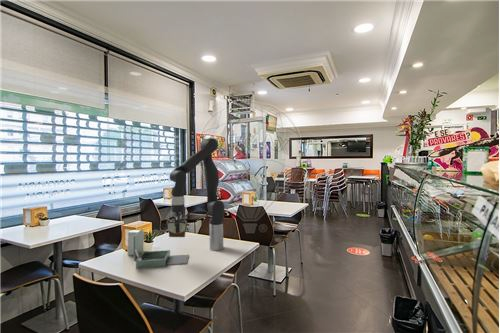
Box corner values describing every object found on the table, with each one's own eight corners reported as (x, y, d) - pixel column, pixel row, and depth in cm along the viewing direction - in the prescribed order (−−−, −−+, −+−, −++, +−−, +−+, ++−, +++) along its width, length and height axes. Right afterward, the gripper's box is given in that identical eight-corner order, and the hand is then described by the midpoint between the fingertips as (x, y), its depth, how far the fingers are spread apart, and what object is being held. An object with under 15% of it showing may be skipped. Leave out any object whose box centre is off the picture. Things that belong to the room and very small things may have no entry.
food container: (190, 233, 162) (189, 217, 161) (187, 237, 155) (186, 220, 155) (170, 233, 162) (170, 217, 162) (166, 237, 156) (166, 220, 156)
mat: (188, 255, 166) (188, 254, 166) (186, 264, 152) (186, 263, 152) (170, 256, 164) (170, 255, 164) (167, 265, 150) (167, 264, 150)
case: (170, 256, 164) (169, 228, 164) (165, 266, 148) (165, 235, 148) (141, 258, 162) (141, 229, 162) (133, 268, 146) (133, 236, 146)
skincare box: (127, 255, 167) (127, 232, 167) (131, 252, 173) (131, 229, 173) (140, 255, 167) (140, 232, 167) (144, 252, 173) (143, 229, 173)
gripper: (183, 205, 151) (183, 234, 151) (185, 201, 165) (185, 228, 166) (169, 205, 150) (169, 235, 150) (173, 201, 164) (173, 228, 165)
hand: (178, 231), depth 158 cm, fingers closed on food container, 5 cm apart
